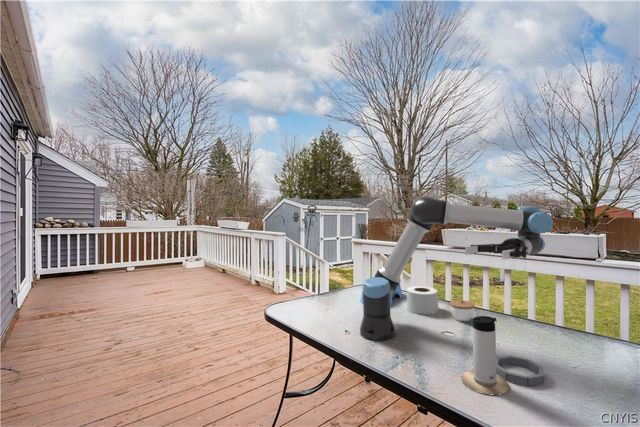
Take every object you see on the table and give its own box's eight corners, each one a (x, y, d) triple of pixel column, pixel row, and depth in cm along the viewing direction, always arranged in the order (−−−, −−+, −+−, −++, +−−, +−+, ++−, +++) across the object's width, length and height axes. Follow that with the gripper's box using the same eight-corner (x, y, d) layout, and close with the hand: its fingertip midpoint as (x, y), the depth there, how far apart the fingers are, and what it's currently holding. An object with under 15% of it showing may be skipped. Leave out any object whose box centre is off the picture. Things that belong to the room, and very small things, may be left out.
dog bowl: (384, 309, 169) (384, 294, 169) (354, 303, 180) (353, 289, 180) (407, 294, 196) (406, 280, 196) (379, 290, 208) (379, 277, 207)
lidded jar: (446, 316, 155) (445, 297, 155) (466, 314, 156) (466, 296, 156) (457, 324, 144) (457, 304, 144) (479, 322, 145) (479, 302, 145)
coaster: (480, 398, 89) (480, 396, 89) (452, 374, 102) (452, 372, 102) (519, 391, 92) (519, 389, 92) (487, 369, 105) (487, 367, 105)
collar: (516, 388, 94) (516, 380, 94) (484, 365, 107) (484, 358, 107) (555, 382, 96) (554, 374, 96) (519, 360, 110) (519, 353, 109)
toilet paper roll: (440, 307, 168) (440, 287, 168) (434, 316, 155) (433, 295, 155) (411, 303, 177) (411, 284, 176) (403, 311, 163) (402, 291, 163)
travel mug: (498, 389, 92) (497, 322, 92) (473, 384, 95) (472, 319, 95) (497, 378, 98) (496, 315, 98) (473, 374, 101) (472, 312, 101)
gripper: (553, 261, 111) (521, 268, 100) (485, 253, 133) (453, 259, 122) (552, 240, 111) (520, 245, 100) (484, 235, 132) (452, 239, 122)
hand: (483, 253), depth 111 cm, fingers open, 13 cm apart
